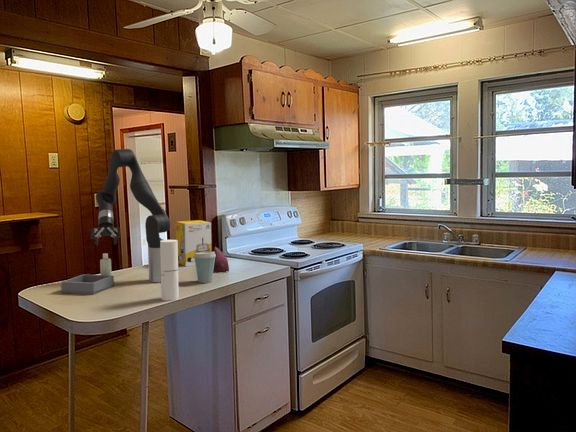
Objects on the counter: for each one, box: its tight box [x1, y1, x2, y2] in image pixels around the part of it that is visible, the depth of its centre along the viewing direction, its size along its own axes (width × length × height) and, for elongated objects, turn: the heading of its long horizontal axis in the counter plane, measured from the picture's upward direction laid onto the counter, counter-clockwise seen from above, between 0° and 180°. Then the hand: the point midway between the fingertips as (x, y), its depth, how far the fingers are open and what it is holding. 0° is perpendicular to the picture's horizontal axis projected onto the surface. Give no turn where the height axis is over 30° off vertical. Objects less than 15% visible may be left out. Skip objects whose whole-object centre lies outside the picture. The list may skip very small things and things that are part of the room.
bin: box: [60, 273, 115, 295], centre depth 208 cm, size 16×16×5 cm
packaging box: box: [174, 219, 212, 268], centre depth 271 cm, size 16×16×25 cm
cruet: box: [99, 252, 112, 276], centre depth 224 cm, size 5×5×14 cm
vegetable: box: [213, 246, 230, 274], centre depth 249 cm, size 10×10×15 cm
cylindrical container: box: [160, 239, 180, 302], centre depth 192 cm, size 7×7×25 cm
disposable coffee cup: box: [194, 251, 216, 284], centre depth 223 cm, size 11×11×15 cm
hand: (105, 243), depth 234 cm, fingers open, 8 cm apart
